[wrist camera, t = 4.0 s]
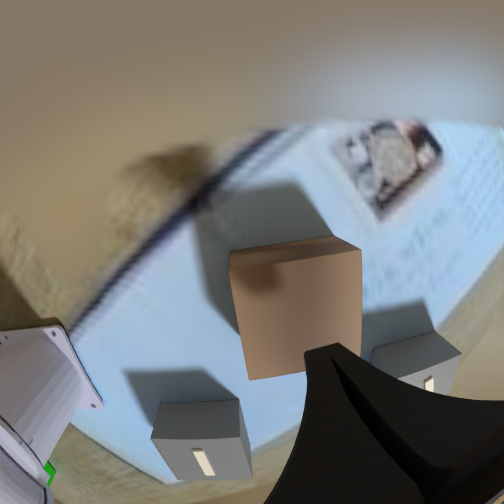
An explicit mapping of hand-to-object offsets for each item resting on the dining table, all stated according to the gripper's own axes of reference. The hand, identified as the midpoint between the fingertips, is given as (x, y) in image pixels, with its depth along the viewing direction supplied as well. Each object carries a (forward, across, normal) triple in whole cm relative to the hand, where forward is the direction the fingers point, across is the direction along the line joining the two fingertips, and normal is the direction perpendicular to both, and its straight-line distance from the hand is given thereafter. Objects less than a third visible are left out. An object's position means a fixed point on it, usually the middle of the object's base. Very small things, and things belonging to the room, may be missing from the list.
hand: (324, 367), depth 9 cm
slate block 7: (+7, -8, +9) cm, 14 cm away
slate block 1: (+7, +8, +10) cm, 15 cm away
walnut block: (+7, 0, 0) cm, 7 cm away
